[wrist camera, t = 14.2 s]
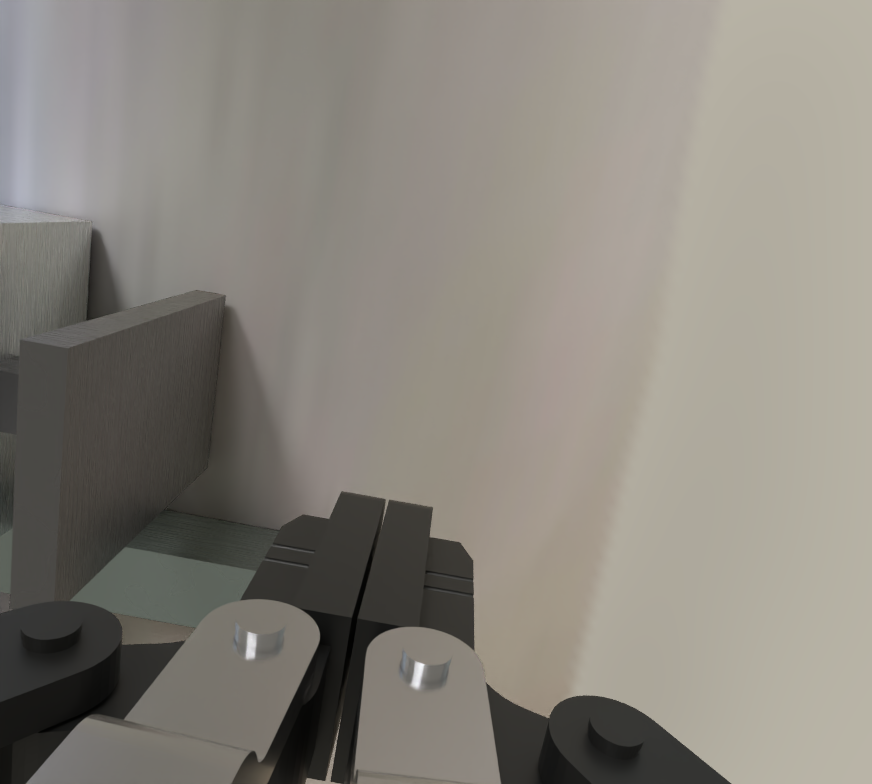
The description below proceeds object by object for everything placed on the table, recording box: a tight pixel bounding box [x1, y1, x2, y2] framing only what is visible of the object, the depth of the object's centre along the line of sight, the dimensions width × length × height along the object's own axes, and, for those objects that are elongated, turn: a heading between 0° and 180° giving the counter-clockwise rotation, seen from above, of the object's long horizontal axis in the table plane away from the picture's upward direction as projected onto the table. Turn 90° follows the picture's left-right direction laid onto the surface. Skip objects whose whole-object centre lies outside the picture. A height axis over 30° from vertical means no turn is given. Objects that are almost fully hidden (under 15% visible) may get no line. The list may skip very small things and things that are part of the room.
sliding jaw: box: [0, 205, 226, 610], centre depth 17 cm, size 8×7×8 cm
